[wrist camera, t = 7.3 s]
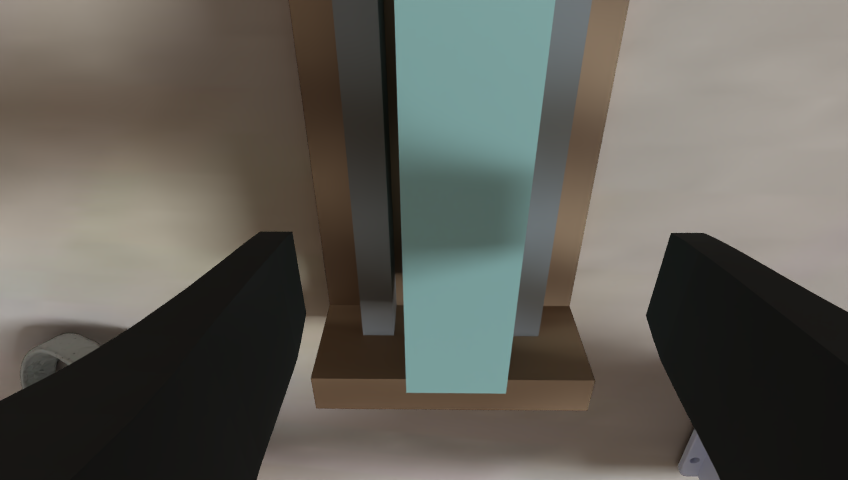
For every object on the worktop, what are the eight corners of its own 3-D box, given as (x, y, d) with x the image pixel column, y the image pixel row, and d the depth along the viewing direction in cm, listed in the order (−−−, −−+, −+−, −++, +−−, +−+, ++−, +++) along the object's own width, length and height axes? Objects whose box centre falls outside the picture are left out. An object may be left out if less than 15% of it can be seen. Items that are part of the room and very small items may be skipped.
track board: (559, 318, 23) (587, 410, 19) (337, 317, 23) (316, 408, 19) (666, -261, 13) (783, -346, 8) (264, -257, 13) (182, -339, 9)
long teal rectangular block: (487, 274, 20) (505, 393, 15) (412, 273, 20) (406, 392, 15) (516, -80, 14) (565, -75, 9) (406, -80, 14) (391, -74, 9)
